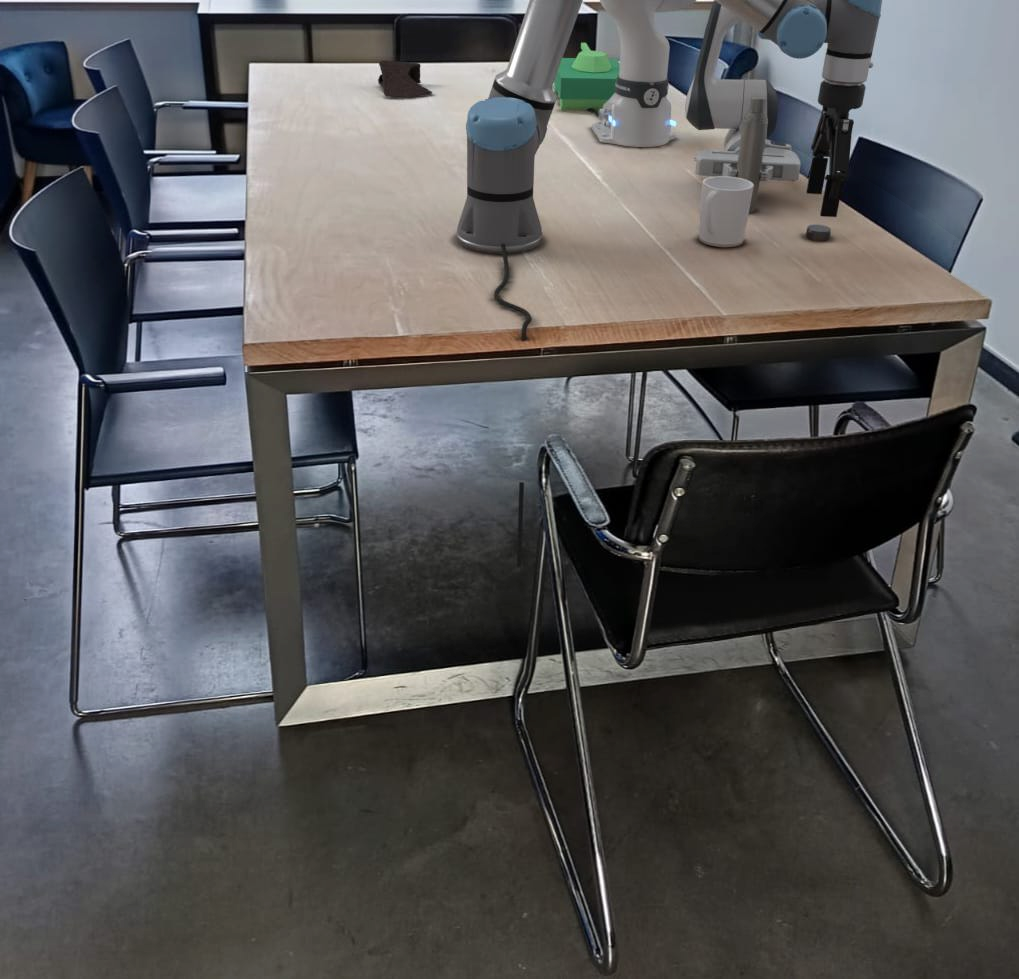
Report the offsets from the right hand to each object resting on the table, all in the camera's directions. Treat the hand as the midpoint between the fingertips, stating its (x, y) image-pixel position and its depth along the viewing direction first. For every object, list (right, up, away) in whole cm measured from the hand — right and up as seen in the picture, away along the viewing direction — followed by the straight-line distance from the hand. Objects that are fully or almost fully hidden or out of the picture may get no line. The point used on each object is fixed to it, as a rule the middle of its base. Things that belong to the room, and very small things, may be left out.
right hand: (748, 176), depth 210 cm
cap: (+11, -13, -10) cm, 19 cm away
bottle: (0, -5, +4) cm, 7 cm away
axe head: (-75, +49, +90) cm, 127 cm away
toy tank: (-25, +46, +87) cm, 101 cm away
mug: (-8, -16, -13) cm, 22 cm away
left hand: (+10, -9, -13) cm, 18 cm away
